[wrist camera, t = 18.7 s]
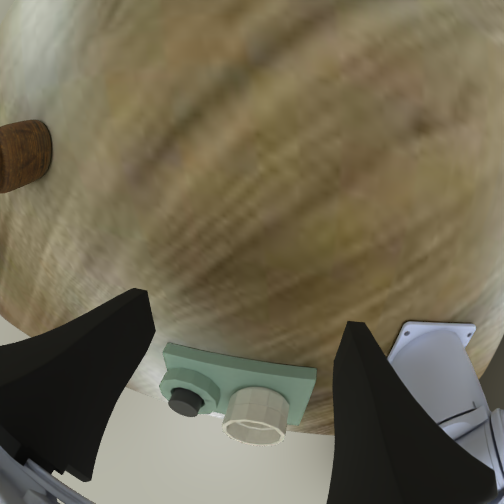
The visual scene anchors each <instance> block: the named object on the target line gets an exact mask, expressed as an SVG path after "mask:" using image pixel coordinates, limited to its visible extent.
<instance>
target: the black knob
mask: <svg viewBox="0 0 504 504" xmlns="http://www.w3.org/2000/svg"><path fill="white" fill-rule="evenodd" d="M202 402H203V399H202V398H201V397H200V396H199V395H198V394H197V393H195V392H193V391H191V390H189V389H185V388H181V387H177V388H175V389H174V392H173V394H172V396H171V398H170V400H169V402H168V404H169V406H170V408H171V409H172V410H174V411H175V412H177V413H179V414H181V415H184V416H187V417H195V416H197V414H198V412H199V410H200V407H201V404H202Z"/></svg>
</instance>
